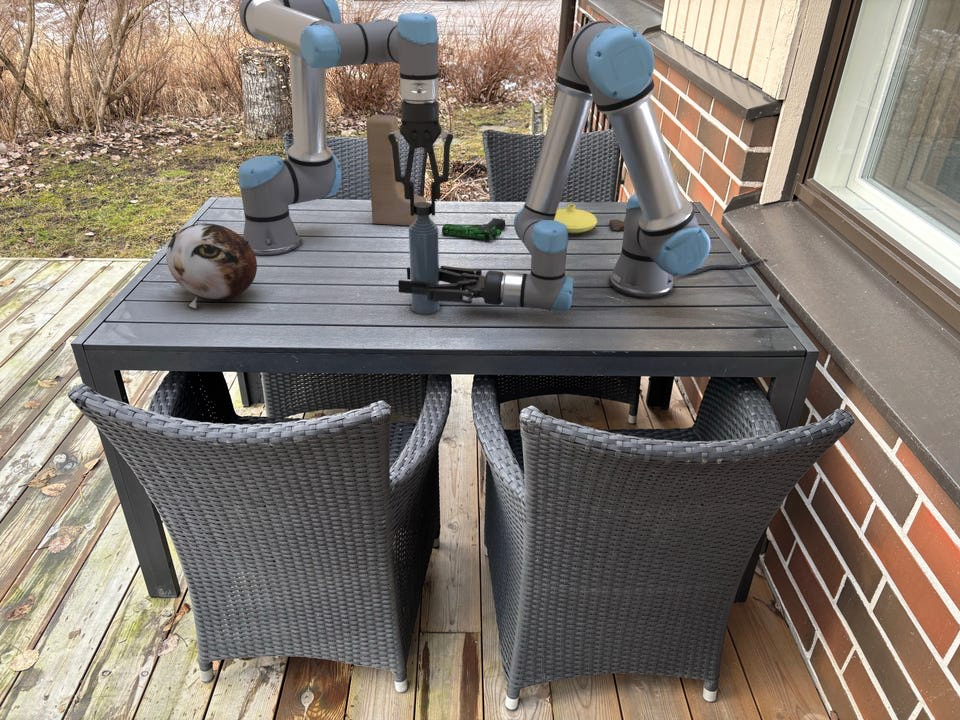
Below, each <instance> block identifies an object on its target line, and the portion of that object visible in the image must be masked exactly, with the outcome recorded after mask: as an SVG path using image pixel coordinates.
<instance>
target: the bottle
mask: <svg viewBox="0 0 960 720" xmlns="http://www.w3.org/2000/svg"><path fill="white" fill-rule="evenodd" d="M439 240H440V239H439V228H438V225H437V224H436V223H435V221H433V219H431V217H430V215H427V216H419V215H417V218H416V219H415V220H414V222H413V223H412V225H410V226H409V227H408V246H409V247H408V249H409V251H408V252H409V268H410V277H411V280H410V281H416V282H429V285H434V284H440V281H439V269H440V250H439V249H440V248H439V247H440V246H439V243H440V242H439ZM410 298H411V299H410V300H411V303H410V304H411V310H412V311H413V312H414V313H416V314H421V315H429V314H434V313H436V312H438V311H439V310H440V307H441V306H440V302H441V301H429V300H428V298H427V295H421V294H411V293H410Z"/></svg>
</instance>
